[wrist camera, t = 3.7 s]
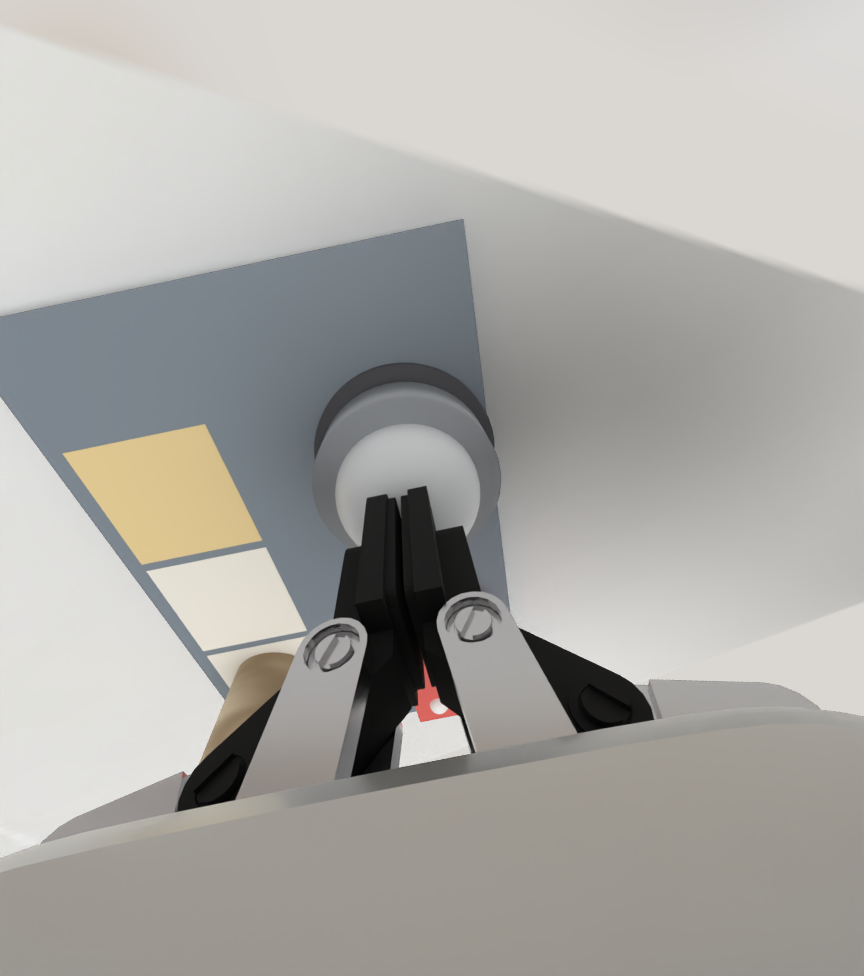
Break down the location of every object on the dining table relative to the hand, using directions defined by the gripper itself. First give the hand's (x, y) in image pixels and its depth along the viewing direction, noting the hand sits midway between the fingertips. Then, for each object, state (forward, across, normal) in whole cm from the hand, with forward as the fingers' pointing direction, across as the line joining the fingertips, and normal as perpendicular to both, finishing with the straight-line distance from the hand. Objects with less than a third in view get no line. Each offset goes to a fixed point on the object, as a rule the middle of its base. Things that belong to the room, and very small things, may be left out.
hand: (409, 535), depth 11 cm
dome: (+5, 0, 0) cm, 5 cm away
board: (+7, +5, +5) cm, 10 cm away
